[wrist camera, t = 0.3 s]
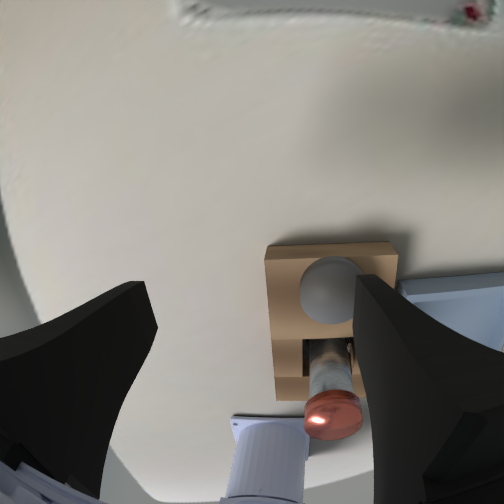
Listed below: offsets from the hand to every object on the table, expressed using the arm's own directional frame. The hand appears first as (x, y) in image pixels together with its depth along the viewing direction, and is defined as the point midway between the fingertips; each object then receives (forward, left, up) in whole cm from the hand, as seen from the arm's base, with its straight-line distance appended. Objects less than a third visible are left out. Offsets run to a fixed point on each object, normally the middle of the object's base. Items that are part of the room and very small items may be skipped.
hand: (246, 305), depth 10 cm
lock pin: (-10, -4, -10) cm, 15 cm away
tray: (-10, -14, -10) cm, 20 cm away
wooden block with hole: (-8, -4, -10) cm, 13 cm away
